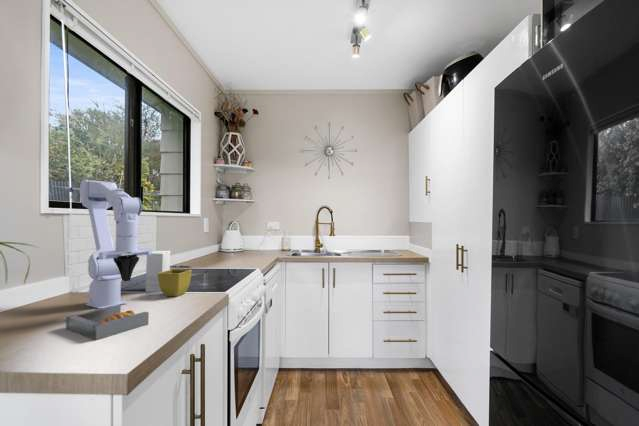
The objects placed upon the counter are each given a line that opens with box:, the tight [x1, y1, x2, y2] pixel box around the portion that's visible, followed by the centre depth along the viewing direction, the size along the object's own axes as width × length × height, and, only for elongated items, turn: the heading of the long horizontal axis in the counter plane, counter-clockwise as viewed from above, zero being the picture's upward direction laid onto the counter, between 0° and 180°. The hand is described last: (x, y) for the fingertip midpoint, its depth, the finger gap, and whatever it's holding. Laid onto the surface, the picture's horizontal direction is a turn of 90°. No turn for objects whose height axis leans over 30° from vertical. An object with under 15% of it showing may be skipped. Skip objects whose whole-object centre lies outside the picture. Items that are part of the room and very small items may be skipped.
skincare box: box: [145, 250, 171, 293], centre depth 125 cm, size 8×7×16 cm
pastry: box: [97, 309, 136, 323], centre depth 82 cm, size 9×7×4 cm
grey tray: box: [65, 304, 150, 341], centre depth 82 cm, size 15×13×3 cm
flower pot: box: [158, 269, 193, 297], centre depth 117 cm, size 9×9×9 cm
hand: (126, 280), depth 94 cm, fingers closed
